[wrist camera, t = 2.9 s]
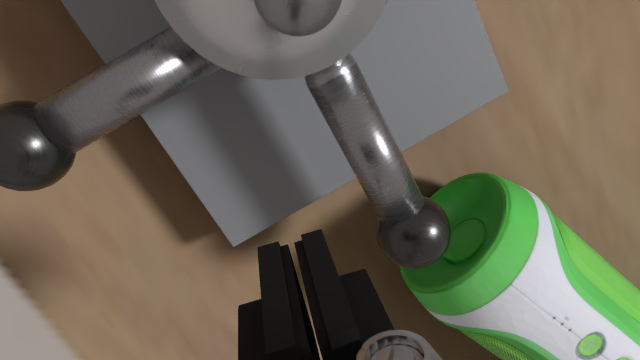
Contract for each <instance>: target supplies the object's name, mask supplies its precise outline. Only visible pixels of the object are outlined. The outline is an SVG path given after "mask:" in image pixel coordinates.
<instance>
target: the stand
mask: <svg viewBox="0 0 640 360" xmlns="http://www.w3.org/2000/svg"><path fill="white" fill-rule="evenodd" d="M60 1H61V2H62V3H63V5H64V6H65V8H66V9H67V11H68V12H69V13H70V15H71V16H72V18H73V19H74V21H75V22H76V23H77V25H78V26H79V28H80V29H81V31H82V32H83V33H84V35H85V36H86V38H87V39H88V40H89V42H90V43H91V45H92V46H93V48H94V49H95V50H96V52H97V53H98V55H99V56H100V58H101V59H102V60H103V62H104V63H105V64H106V63H108V62H109V61H111V60H113V59H115V58H116V57H118V56H120V55H122V54H123V53H125V52H127V51H128V50H130V49H132V48H134V47H135V46H137V45H139V44H140V43H142V42H144V41H146V40H147V39H149V38H151V37H153V36H154V35H156V34H158V33H159V32H161V31H163V30H165V29H166V28H168V27H170V24H169V23H168V22H167V20H166V19H165V17H164V16H163V15H162V13H161V11H160V10H159V8H158V6H157V4H156V2H155V0H60ZM350 54H351V55H352V56H353V57H354V59H355V60H356V62H357V64H358V66H359V68H360V70H361V72H362V74H363V76H364V78H365V80H366V82H367V84H368V86H369V88H370V90H371V92H372V95H373V97H374V99H375V101H376V103H377V105H378V107H379V109H380V111H381V113H382V115H383V117H384V119H385V121H386V123H387V125H388V127H389V129H390V131H391V133H392V135H393V137H394V139H395V141H396V143H397V145H398V147H399V149H400V151H401V152H402V151H404V150H405V149H407V148H409V147H411V146H413V145H414V144H416V143H418V142H420V141H421V140H423V139H425V138H427V137H428V136H430V135H432V134H434V133H435V132H437V131H439V130H441V129H442V128H444V127H446V126H448V125H449V124H451V123H453V122H455V121H457V120H458V119H460V118H462V117H464V116H465V115H467V114H469V113H471V112H472V111H474V110H476V109H478V108H479V107H481V106H483V105H485V104H486V103H488V102H490V101H492V100H493V99H495V98H497V97H499V96H501V95H502V94H504V93H506V92H508V88H507V86H506V83H505V80H504V78H503V75H502V72H501V70H500V67H499V64H498V62H497V59H496V56H495V54H494V51H493V48H492V46H491V43H490V40H489V38H488V35H487V32H486V30H485V27H484V24H483V22H482V19H481V16H480V14H479V11H478V8H477V6H476V3H475V0H387V3H386V6H385V7H384V9H383V11H382V13H381V15H380V17H379V19H378V21H377V22H376V24H375V25H374V26H373V28H372V29H371V31H370V32H369V34H368V35H367V36H366V37H365V38H364V39H363V40H362V42H361V43H360V44H359V45H358V46H357V47H356V48H355V49H353V50H352V51H351V52H350ZM141 116H142V117H143V119H144V120H145V122H146V123H147V125H148V126H149V127H150V129H151V130H152V132H153V133H154V135H155V136H156V137H157V139H158V140H159V142H160V143H161V145H162V146H163V147H164V149H165V150H166V152H167V153H168V155H169V156H170V157H171V159H172V160H173V162H174V163H175V164H176V166H177V167H178V169H179V170H180V172H181V173H182V174H183V176H184V177H185V179H186V180H187V182H188V183H189V184H190V186H191V187H192V189H193V190H194V192H195V193H196V194H197V196H198V197H199V199H200V200H201V202H202V203H203V204H204V206H205V207H206V209H207V210H208V212H209V213H210V214H211V216H212V217H213V219H214V220H215V221H216V223H217V224H218V226H219V227H220V229H221V230H222V231H223V233H224V234H225V236H226V237H227V239H228V240H229V241H230V243H231V244H232V246H233V247H235V246H237V245H238V244H240V243H242V242H244V241H245V240H247V239H249V238H251V237H252V236H254V235H256V234H258V233H259V232H261V231H263V230H265V229H266V228H268V227H270V226H272V225H273V224H275V223H277V222H279V221H281V220H282V219H284V218H286V217H288V216H289V215H291V214H293V213H295V212H296V211H298V210H300V209H302V208H303V207H305V206H307V205H309V204H310V203H312V202H314V201H316V200H317V199H319V198H321V197H323V196H325V195H326V194H328V193H330V192H332V191H333V190H335V189H337V188H339V187H340V186H342V185H344V184H346V183H347V182H349V181H351V180H353V179H354V178H356V175H355V174H354V172H353V170H352V168H351V166H350V164H349V163H348V161H347V159H346V157H345V155H344V153H343V152H342V150H341V148H340V146H339V144H338V142H337V140H336V139H335V137H334V135H333V133H332V131H331V129H330V128H329V126H328V124H327V122H326V120H325V118H324V117H323V115H322V113H321V111H320V109H319V107H318V106H317V104H316V102H315V100H314V98H313V96H312V95H311V93H310V91H309V89H308V87H307V85H306V82H305V77H304V76H303V77H298V78H293V79H283V80H267V79H256V78H252V77H247V76H242V75H239V74H237V73H234V72H231V71H228V70H226V69H224V68H221V69H219V70H218V71H216V72H214V73H212V74H211V75H209V76H207V77H205V78H204V79H202V80H200V81H199V82H197V83H195V84H193V85H192V86H190V87H188V88H186V89H185V90H183V91H181V92H179V93H178V94H176V95H174V96H173V97H171V98H169V99H167V100H166V101H164V102H162V103H160V104H159V105H157V106H155V107H153V108H152V109H150V110H148V111H147V112H145V113H143V114H141Z"/></svg>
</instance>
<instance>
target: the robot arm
mask: <svg viewBox="0 0 640 360" xmlns="http://www.w3.org/2000/svg"><path fill="white" fill-rule="evenodd" d="M301 237H302V241H298V242H295V248H296V252H297V256H298V261H299V265H300V269H301V273H302V278H303V282H304V286H305V290H306V295H307V299H308V303H309V307H310V312H311V316H312V320H313V324H314V329H315V333H316V337H317V341H318V344H319V348H320V351H321V355H322V358H323V360H443V359H442V358H441V357H440V356H439V355H438V353H437V352H436V351H435V350H434V349H433V347H432V346H431V345H430V344H429V343H428V342H427V341H426V340H425V339H424V338H423V337H422V336H420V335H418V334H416V333H414V332H411V331H406V330H394V328H393V326H392V324H391V322H390V319H389V317H388V315H387V313H386V311H385V309H384V307H383V305H382V303H381V301H380V299H379V297H378V295H377V292H376V290H375V288H374V286H373V284H372V282H371V280H370V278H369V276H368V274H367V272H366V270H365V269H362V270H359V271H355V272H352V273H348V274H345V275H342V276H338V273H337V271H336V268H335V265H334V263H333V260H332V257H331V254H330V252H329V249H328V246H327V244H326V241H325V238H324V235H323V233H322V230H321V229H320V230H317V231H313V232H310V233H306V234H302V235H301ZM258 261H259V274H260V287H261V299H259V300H256V301H253V302H249V303H246V304H242V305H240V306H239V308H238V360H320V357H319V352H318V348H317V344H316V340H315V336H314V332H313V328H312V325H311V321H310V318H309V315H308V311H307V308H306V304H305V301H304V298H303V294H302V291H301V287H300V284H299V280H298V277H297V274H296V270H295V267H294V263H293V260H292V256H291V253H290V250H289V246H288V245H284V246H281V247H280V244H279V242H274V243H271V244H267V245H264V246H260V247H258Z"/></svg>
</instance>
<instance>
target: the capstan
mask: <svg viewBox="0 0 640 360" xmlns="http://www.w3.org/2000/svg"><path fill="white" fill-rule="evenodd" d="M155 2H156V4H157V6H158V8H159V10H160V11H161V13H162V15H163V16H164V17H165V19H166V20H167V22H168V23H169V24H170V27H168V28H166V29H165V30H163V31H161V32H159V33H158V34H156V35H154V36H153V37H151V38H149V39H147V40H146V41H144V42H142V43H140V44H139V45H137V46H135V47H134V48H132V49H130V50H128V51H127V52H125V53H123V54H122V55H120V56H118V57H116V58H115V59H113V60H111V61H109V62H108V63H106V64H104V65H103V66H101V67H99V68H97V69H96V70H94V71H92V72H91V73H89V74H87V75H85V76H84V77H82V78H80V79H78V80H77V81H75V82H73V83H72V84H70V85H68V86H66V87H65V88H63V89H61V90H60V91H58V92H56V93H54V94H53V95H51V96H49V97H47V98H46V99H44V100H42V101H41V102H39V103H35V102H30V101H13V102H8V103H4V104H1V105H0V186H2V187H5V188H8V189H12V190H17V191H34V190H39V189H43V188H46V187H49V186H51V185H53V184H54V183H56V182H57V181H59V180H60V179H61V178H63V177H64V176H65V175H66V173H67V172H68V171H69V170H70V168H71V166H72V164H73V162H74V159H75V156H76V152H77V151H79V150H81V149H82V148H84V147H86V146H88V145H89V144H91V143H93V142H95V141H96V140H98V139H100V138H102V137H103V136H105V135H107V134H108V133H110V132H112V131H114V130H115V129H117V128H119V127H121V126H122V125H124V124H126V123H127V122H129V121H131V120H133V119H134V118H136V117H138V116H140V115H141V114H143V113H145V112H147V111H148V110H150V109H152V108H153V107H155V106H157V105H159V104H160V103H162V102H164V101H166V100H167V99H169V98H171V97H173V96H174V95H176V94H178V93H179V92H181V91H183V90H185V89H186V88H188V87H190V86H192V85H193V84H195V83H197V82H199V81H200V80H202V79H204V78H205V77H207V76H209V75H211V74H212V73H214V72H216V71H218V70H219V69H221V68H224V69H226V70H228V71H231V72H234V73H237V74H239V75H242V76H247V77H252V78H256V79H267V80H283V79H293V78H298V77H303V76H304V77H305V82H306V85H307V87H308V89H309V91H310V93H311V95H312V96H313V98H314V100H315V102H316V104H317V106H318V107H319V109H320V111H321V113H322V115H323V117H324V118H325V120H326V122H327V124H328V126H329V128H330V129H331V131H332V133H333V135H334V137H335V139H336V140H337V142H338V144H339V146H340V148H341V150H342V152H343V153H344V155H345V157H346V159H347V161H348V163H349V164H350V166H351V168H352V170H353V172H354V174H355V175H356V177H357V179H358V181H359V183H360V185H361V186H362V188H363V190H364V192H365V194H366V196H367V197H368V199H369V201H370V203H371V205H372V207H373V209H374V210H375V212H376V214H377V216H378V220H377V224H376V238H377V242H378V245H379V247H380V249H381V251H382V252H383V254H384V255H385V256H386V257H387V258H388V259H389V260H390V261H392V262H393V263H395V264H396V265H399V266H401V267H404V268H410V269H420V268H424V267H427V266H430V265H432V264H434V263H435V262H437V261H438V260H439V259H440V258H441V257H442V256H443V255H444V254H445V252H446V250H447V248H448V246H449V244H450V240H451V225H450V221H449V219H448V216H447V214H446V213H445V211H444V210H443V209H442V207H441V206H440V205H439V204H438V203H436V202H435V201H433V200H432V199H430V198H428V197H425V196H422V194H421V192H420V190H419V188H418V186H417V184H416V182H415V180H414V178H413V176H412V174H411V172H410V170H409V168H408V166H407V164H406V162H405V160H404V158H403V156H402V153H401V151H400V149H399V147H398V145H397V143H396V141H395V139H394V137H393V135H392V133H391V131H390V129H389V127H388V125H387V123H386V121H385V119H384V117H383V115H382V113H381V111H380V109H379V107H378V105H377V103H376V101H375V99H374V97H373V95H372V92H371V90H370V88H369V86H368V84H367V82H366V80H365V78H364V76H363V74H362V72H361V70H360V68H359V66H358V64H357V62H356V60H355V59H354V57H353V56H352V55H351V54H350V52H351V51H352V50H353V49H355V48H356V47H357V46H358V45H359V44H360V43H361V42H362V40H363V39H364V38H365V37H366V36H367V35H368V34H369V32H370V31H371V29H372V28H373V26H374V25H375V24H376V22H377V21H378V19H379V17H380V15H381V13H382V11H383V9H384V7H385V6H386V3H387V0H155Z"/></svg>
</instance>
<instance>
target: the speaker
mask: <svg viewBox="0 0 640 360" xmlns="http://www.w3.org/2000/svg"><path fill="white" fill-rule="evenodd" d="M430 199H432V200H433V201H435V202H436V203H438V204H439V205H440V206H441V207H442V209H443V210H444V211H445V213H446V214H447V216H448V219H449V221H450V225H451V240H450V244H449V246H448V248H447V250H446V252H445V254H444V255H443V256H442V257H441V258H440V259H439V260H438V261H437V262H435V263H434V264H432V265H430V266H427V267H424V268H420V269H410V268H404V267H401V266H400V271H401V274H402V277H403V280H404V282H405V283H406V285H407V286H408V287H409V289H410V290H411V291H412V293H413V294H414V295H415V297H416V298H417V299H418V300H419V302H420V303H421V304H422V305H423V306H424V307H425V308H426V309H427V310H428V311H429V312H430V313H431V314H432V315H433V316H434V317H435V318H436V319H437V320H438V321H440V322H442V323H444V324H445V325H448V326H450V327H453V328H456V329H458V330H460V331H461V332H462V333H464V334H465V335H467V336H468V337H470V338H471V339H472V340H474V341H475V342H477V343H478V344H480V345H481V346H482V347H484V348H485V349H487V350H488V351H490V352H491V353H493V354H494V355H496V356H497V357H499V358H500V359H501V360H640V291H639V290H638V289H637V288H636V287H635V286H633V285H632V284H631V283H630V282H629V281H628V280H627V279H626V278H624V277H623V276H622V275H621V274H620V273H619V272H618V271H617V270H616V269H614V268H613V267H612V266H611V265H610V264H609V263H608V262H607V261H605V260H604V259H603V258H602V257H601V256H600V255H599V254H598V253H596V252H595V251H594V250H593V249H592V248H591V247H590V246H589V245H588V244H586V243H585V242H584V241H583V240H582V239H581V238H580V237H579V236H577V235H576V234H575V233H574V232H573V231H572V230H571V229H570V228H569V227H568V226H566V225H565V224H564V223H563V222H562V221H561V220H560V219H559V218H558V217H556V216H555V215H554V214H553V213H551V211H550V209H549V208H548V206H547V205H546V204H545V202H544V201H543V200H542V199H541V198H539V197H538V196H537V195H535V194H534V193H532V192H530V191H529V190H527V189H525V188H523V187H522V186H520V185H517V184H515V183H513V182H511V181H509V180H506V179H504V178H501V177H499V176H496V175H494V174H490V173H474V174H468V175H465V176H462V177H459V178H457V179H455V180H453V181H451V182H450V183H448V184H446V185H445V186H443V187H442V188H440V189H439V190H438V191H437V192H436V193H434V194H433V195H432V196H431V197H430Z"/></svg>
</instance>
